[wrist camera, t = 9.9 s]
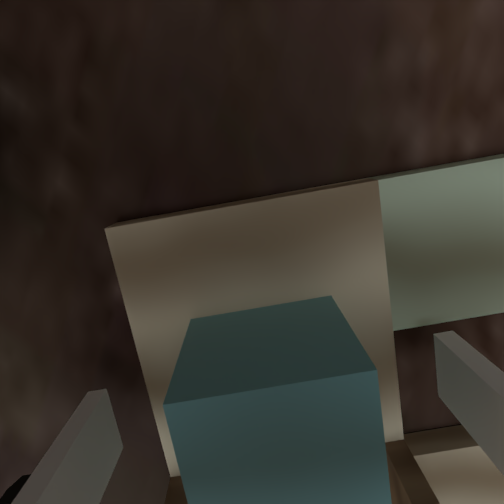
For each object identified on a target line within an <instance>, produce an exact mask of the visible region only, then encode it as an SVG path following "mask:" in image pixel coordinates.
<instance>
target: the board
mask: <svg viewBox="0 0 504 504" xmlns="http://www.w3.org/2000/svg"><path fill="white" fill-rule="evenodd" d="M105 233H106V237H107V241H108V244H109V248H110V252H111V256H112V259H113V263H114V267H115V271H116V274H117V278H118V282H119V286H120V289H121V293H122V297H123V301H124V304H125V308H126V312H127V316H128V319H129V323H130V327H131V331H132V334H133V338H134V342H135V346H136V349H137V353H138V357H139V360H140V364H141V368H142V372H143V375H144V379H145V383H146V387H147V390H148V394H149V398H150V402H151V405H152V409H153V413H154V417H155V420H156V424H157V428H158V432H159V435H160V439H161V443H162V447H163V450H164V454H165V458H166V462H167V465H168V469H169V473H170V477H175V476H181V475H180V471H179V467H178V463H177V459H176V455H175V452H174V448H173V444H172V440H171V436H170V432H169V428H168V424H167V420H166V416H165V413H164V409H163V402H164V399H165V396H166V393H167V390H168V387H169V384H170V381H171V378H172V375H173V372H174V369H175V366H176V363H177V359H178V356H179V353H180V350H181V347H182V344H183V341H184V338H185V335H186V332H187V329H188V326H189V323H190V320H191V319H194V318H200V317H206V316H212V315H218V314H224V313H230V312H236V311H242V310H248V309H254V308H260V307H265V306H271V305H277V304H283V303H289V302H295V301H301V300H307V299H313V298H319V297H325V296H330V295H331V296H332V298H333V299H334V301H335V302H336V304H337V306H338V307H339V309H340V310H341V312H342V314H343V315H344V317H345V319H346V320H347V322H348V323H349V325H350V327H351V328H352V330H353V331H354V333H355V335H356V336H357V338H358V340H359V341H360V343H361V344H362V346H363V348H364V349H365V351H366V353H367V354H368V356H369V357H370V359H371V361H372V362H373V364H374V365H375V367H376V369H377V373H378V382H379V391H380V400H381V409H382V419H383V428H384V437H385V442H391V441H397V440H403V439H404V440H405V442H406V444H407V446H408V447H409V449H410V451H411V453H412V455H413V456H414V458H415V460H416V462H417V464H418V465H419V467H420V469H421V471H422V472H423V474H424V476H425V478H426V480H427V481H428V483H429V485H430V487H431V488H432V490H433V492H434V494H435V496H436V497H437V499H438V501H439V503H440V504H504V476H503V474H502V473H501V472H500V471H499V469H498V468H497V467H496V466H495V465H494V463H493V462H492V461H491V460H490V458H489V457H488V456H487V455H486V454H485V452H484V451H483V450H482V449H481V447H480V446H479V445H478V444H477V443H476V441H475V440H474V439H473V438H472V436H471V435H470V434H469V433H468V431H467V430H466V429H465V428H464V427H463V425H456V426H450V427H444V428H438V429H432V430H426V431H420V432H414V433H407V434H403V425H402V415H401V405H400V395H399V385H398V374H397V364H396V354H395V344H394V334H393V331H396V330H402V329H408V328H414V327H420V326H426V325H432V324H438V323H443V322H449V321H455V320H461V319H467V318H473V317H479V316H485V315H491V314H497V313H503V312H504V154H499V155H493V156H487V157H482V158H476V159H470V160H465V161H459V162H454V163H448V164H442V165H437V166H431V167H426V168H420V169H414V170H409V171H403V172H397V173H392V174H386V175H381V176H375V177H369V178H364V179H358V180H353V181H347V182H341V183H336V184H330V185H324V186H319V187H313V188H308V189H302V190H296V191H291V192H285V193H280V194H274V195H268V196H263V197H257V198H251V199H246V200H240V201H235V202H229V203H223V204H218V205H212V206H207V207H201V208H195V209H190V210H184V211H178V212H173V213H167V214H162V215H156V216H150V217H145V218H139V219H134V220H128V221H122V222H117V223H114V224H112V225H111V226H109V227H107V228H105Z"/></svg>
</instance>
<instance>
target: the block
mask: <svg viewBox="0 0 504 504" xmlns="http://www.w3.org/2000/svg"><path fill="white" fill-rule="evenodd" d="M163 409H164V413H165V416H166V420H167V424H168V428H169V432H170V436H171V440H172V444H173V448H174V452H175V455H176V459H177V463H178V467H179V471H180V475H181V479H182V483H183V487H184V491H185V494H186V498H187V502H188V504H392V501H391V492H390V483H389V473H388V464H387V455H386V446H385V437H384V428H383V419H382V409H381V400H380V391H379V382H378V373H377V369H376V367H375V365H374V364H373V362H372V361H371V359H370V357H369V356H368V354H367V353H366V351H365V349H364V348H363V346H362V344H361V343H360V341H359V340H358V338H357V336H356V335H355V333H354V331H353V330H352V328H351V327H350V325H349V323H348V322H347V320H346V319H345V317H344V315H343V314H342V312H341V310H340V309H339V307H338V306H337V304H336V302H335V301H334V299H333V298H332V296H331V295H330V296H325V297H319V298H313V299H307V300H301V301H295V302H289V303H283V304H277V305H271V306H265V307H260V308H254V309H248V310H242V311H236V312H230V313H224V314H218V315H212V316H206V317H200V318H194V319H191V320H190V323H189V326H188V329H187V332H186V335H185V338H184V341H183V344H182V347H181V350H180V353H179V356H178V359H177V363H176V366H175V369H174V372H173V375H172V378H171V381H170V384H169V387H168V390H167V393H166V396H165V399H164V402H163Z"/></svg>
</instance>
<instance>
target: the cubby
mask: <svg viewBox="0 0 504 504" xmlns="http://www.w3.org/2000/svg"><path fill="white" fill-rule="evenodd" d="M385 446H386V455H387V464H388V473H389V483H390V492H391V501H392V504H440V503H439V501H438V499H437V497H436V496H435V494H434V492H433V490H432V488H431V487H430V485H429V483H428V481H427V480H426V478H425V476H424V474H423V472H422V471H421V469H420V467H419V465H418V464H417V462H416V460H415V458H414V456H413V455H412V453H411V451H410V449H409V447H408V446H407V444H406V442H405V440H404V439H403V440H397V441H391V442H385ZM165 504H188V502H187V498H186V494H185V491H184V487H183V483H182V479H181V476H175V477H171V478H170V482H169V487H168V491H167V496H166V500H165Z"/></svg>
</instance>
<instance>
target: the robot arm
mask: <svg viewBox="0 0 504 504" xmlns="http://www.w3.org/2000/svg"><path fill="white" fill-rule="evenodd" d="M433 336H434V348H435V361H436V373H437V386H438V396H439V397H440V398H441V400H442V401H443V402H444V403H445V405H446V406H447V407H448V408H449V409H450V411H451V412H452V413H453V414H454V416H455V417H456V418H457V419H458V420H459V422H460V423H461V424H462V425H463V427H464V428H465V429H466V430H467V431H468V433H469V434H470V435H471V436H472V438H473V439H474V440H475V441H476V443H477V444H478V445H479V446H480V447H481V449H482V450H483V451H484V452H485V454H486V455H487V456H488V457H489V458H490V460H491V461H492V462H493V463H494V465H495V466H496V467H497V468H498V469H499V471H500V472H501V473H502V474H503V476H504V372H503V371H501V370H500V369H499V368H498V367H497V366H495V365H494V364H493V363H492V362H490V361H489V360H488V359H487V358H486V357H484V356H483V355H482V354H481V353H479V352H478V351H477V350H476V349H475V348H473V347H472V346H471V345H470V344H469V343H467V342H466V341H465V340H464V339H462V338H461V337H460V336H459V335H458V334H456V333H455V332H454V331H447V332H441V333H435V334H433ZM122 449H123V444H122V441H121V437H120V434H119V430H118V427H117V423H116V420H115V416H114V413H113V409H112V406H111V402H110V399H109V395H108V392H107V389H101V390H95V391H89V392H87V394H86V395H85V397H84V398H83V400H82V401H81V403H80V404H79V406H78V407H77V408H76V410H75V411H74V413H73V414H72V416H71V417H70V419H69V420H68V422H67V423H66V424H65V426H64V427H63V429H62V430H61V432H60V433H59V435H58V436H57V438H56V439H55V441H54V442H53V443H52V445H51V446H50V448H49V449H48V451H47V452H46V454H45V455H44V457H43V458H42V460H41V461H40V462H39V464H38V465H37V467H36V468H35V470H34V471H33V473H32V474H30V475H24V476H22V477H21V478H19V479H18V480H17V481H16V482H15V483H14V484H13V485H12V486H10V487H9V488H8V489H7V490H6V492H5V493H4V495H3V496H2V497H1V499H0V504H99V503H100V501H101V498H102V496H103V494H104V491H105V489H106V487H107V484H108V482H109V480H110V477H111V475H112V473H113V470H114V468H115V466H116V463H117V461H118V459H119V456H120V454H121V452H122Z"/></svg>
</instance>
